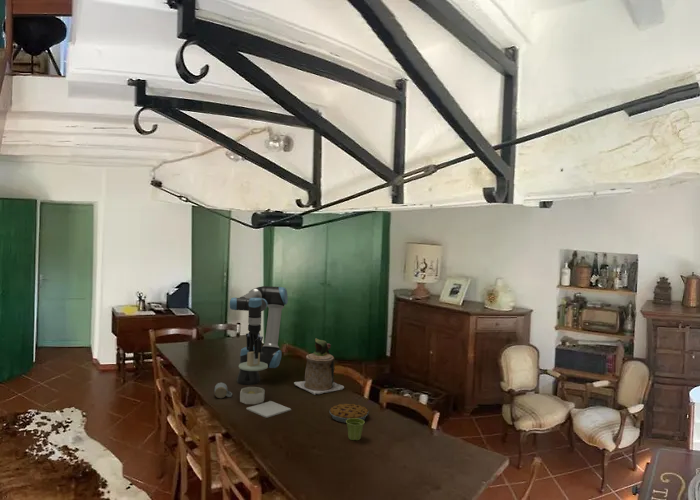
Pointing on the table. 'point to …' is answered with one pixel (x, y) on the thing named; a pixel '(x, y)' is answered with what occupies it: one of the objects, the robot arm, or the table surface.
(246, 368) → the lid
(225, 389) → the ceramic mug
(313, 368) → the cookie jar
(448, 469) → the table surface
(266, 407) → the mat
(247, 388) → the bowl
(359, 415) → the pie
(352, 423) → the plant pot
